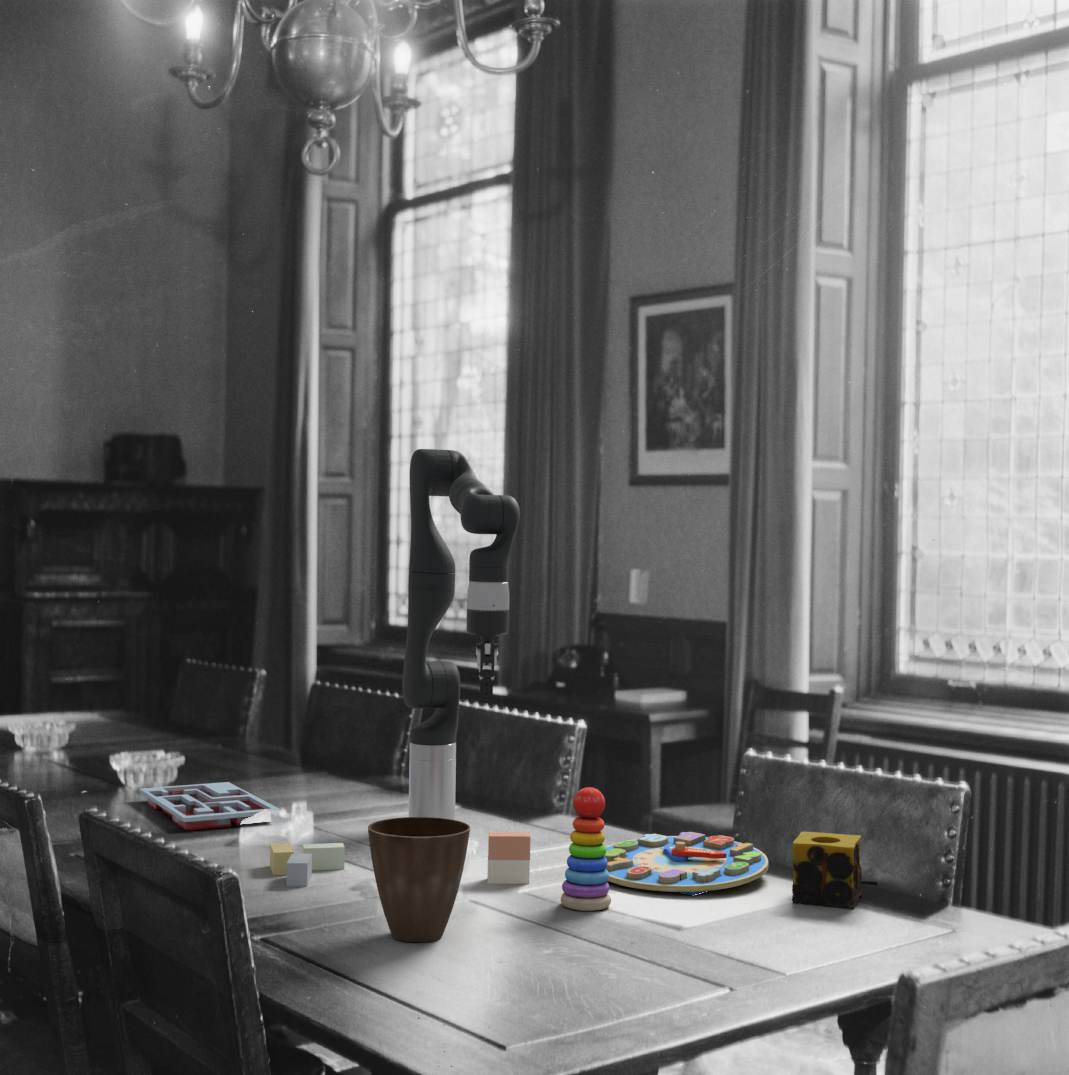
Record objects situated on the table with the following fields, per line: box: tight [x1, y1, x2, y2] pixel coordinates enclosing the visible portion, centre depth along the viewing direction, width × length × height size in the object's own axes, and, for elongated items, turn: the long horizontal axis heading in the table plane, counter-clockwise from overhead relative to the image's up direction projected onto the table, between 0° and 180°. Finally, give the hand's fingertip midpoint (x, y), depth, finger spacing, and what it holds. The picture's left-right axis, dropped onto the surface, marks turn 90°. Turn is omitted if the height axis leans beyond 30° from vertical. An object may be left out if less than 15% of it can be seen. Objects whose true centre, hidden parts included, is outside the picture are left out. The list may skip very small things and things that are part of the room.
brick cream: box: [486, 859, 531, 885], centre depth 240 cm, size 3×7×4 cm, turn 93°
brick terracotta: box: [487, 831, 531, 861], centre depth 240 cm, size 3×7×4 cm, turn 93°
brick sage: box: [302, 842, 346, 871], centre depth 248 cm, size 3×7×4 cm, turn 103°
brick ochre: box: [269, 842, 295, 876], centre depth 245 cm, size 3×7×4 cm, turn 15°
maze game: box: [138, 781, 282, 831], centre depth 295 cm, size 35×20×3 cm, turn 29°
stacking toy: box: [560, 786, 612, 912], centre depth 225 cm, size 8×8×19 cm
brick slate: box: [286, 853, 313, 888], centre depth 238 cm, size 3×7×4 cm, turn 3°
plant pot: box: [367, 816, 471, 943], centre depth 206 cm, size 15×15×16 cm
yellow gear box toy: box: [791, 831, 863, 909], centre depth 231 cm, size 10×10×10 cm
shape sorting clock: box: [604, 831, 769, 896], centre depth 246 cm, size 31×30×6 cm
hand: (486, 698), depth 252 cm, fingers open, 8 cm apart
